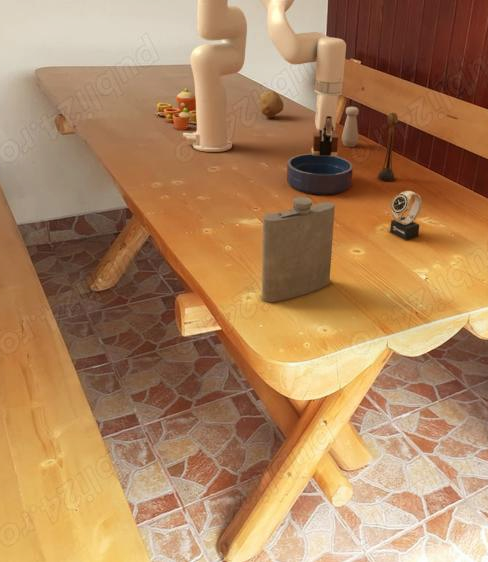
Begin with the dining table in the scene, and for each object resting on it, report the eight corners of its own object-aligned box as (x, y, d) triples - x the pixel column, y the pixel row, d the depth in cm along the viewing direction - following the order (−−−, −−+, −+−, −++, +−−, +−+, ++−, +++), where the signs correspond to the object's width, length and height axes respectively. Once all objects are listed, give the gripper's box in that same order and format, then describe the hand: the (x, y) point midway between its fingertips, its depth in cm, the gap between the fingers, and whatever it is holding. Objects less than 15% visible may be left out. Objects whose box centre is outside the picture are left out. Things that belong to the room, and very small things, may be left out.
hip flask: (323, 277, 137) (329, 188, 127) (335, 285, 134) (341, 195, 124) (259, 296, 128) (259, 203, 118) (270, 306, 125) (271, 211, 115)
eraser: (312, 155, 180) (313, 136, 177) (311, 151, 183) (312, 132, 180) (337, 156, 181) (338, 137, 178) (335, 152, 184) (337, 133, 181)
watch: (384, 233, 158) (388, 191, 153) (407, 226, 163) (412, 186, 158) (399, 242, 155) (405, 199, 149) (423, 234, 159) (429, 193, 154)
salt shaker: (356, 148, 218) (359, 110, 211) (339, 146, 218) (342, 108, 212) (359, 144, 223) (362, 106, 216) (343, 141, 223) (345, 104, 217)
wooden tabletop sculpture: (398, 182, 192) (406, 115, 182) (384, 183, 190) (391, 116, 180) (389, 175, 196) (396, 110, 187) (375, 176, 194) (382, 110, 185)
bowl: (288, 195, 176) (289, 174, 173) (285, 172, 192) (286, 152, 190) (355, 196, 179) (356, 176, 176) (346, 173, 195) (348, 154, 192)
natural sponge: (284, 115, 248) (285, 89, 243) (280, 121, 240) (281, 95, 236) (261, 113, 249) (262, 87, 244) (256, 119, 241) (257, 92, 236)
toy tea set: (151, 112, 239) (149, 86, 234) (192, 109, 246) (190, 84, 242) (173, 132, 220) (171, 103, 215) (216, 128, 227) (215, 100, 222)
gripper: (312, 78, 179) (308, 142, 188) (317, 93, 165) (313, 161, 174) (339, 80, 180) (334, 143, 189) (346, 95, 166) (340, 163, 175)
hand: (324, 151), depth 182 cm, fingers closed on eraser, 4 cm apart
